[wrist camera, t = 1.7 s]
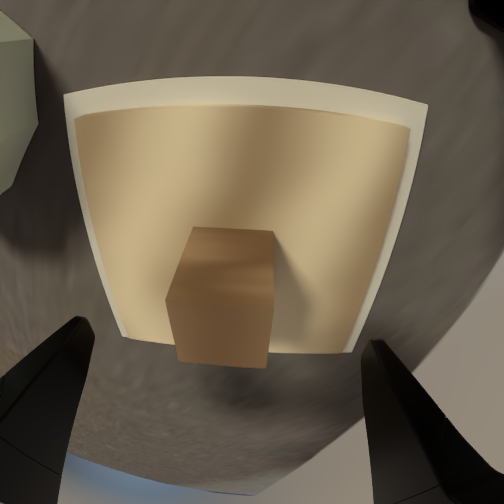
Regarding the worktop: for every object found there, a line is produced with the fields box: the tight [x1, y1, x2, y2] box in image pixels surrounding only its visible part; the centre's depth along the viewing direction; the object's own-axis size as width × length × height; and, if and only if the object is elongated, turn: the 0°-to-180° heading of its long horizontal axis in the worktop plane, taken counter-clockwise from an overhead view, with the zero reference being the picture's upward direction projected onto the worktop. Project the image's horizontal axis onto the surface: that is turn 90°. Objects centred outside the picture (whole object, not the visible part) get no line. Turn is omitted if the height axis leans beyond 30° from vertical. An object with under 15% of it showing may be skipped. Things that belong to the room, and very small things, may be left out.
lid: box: [74, 104, 411, 369], centre depth 11 cm, size 12×12×5 cm
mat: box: [64, 76, 428, 352], centre depth 13 cm, size 14×14×1 cm
